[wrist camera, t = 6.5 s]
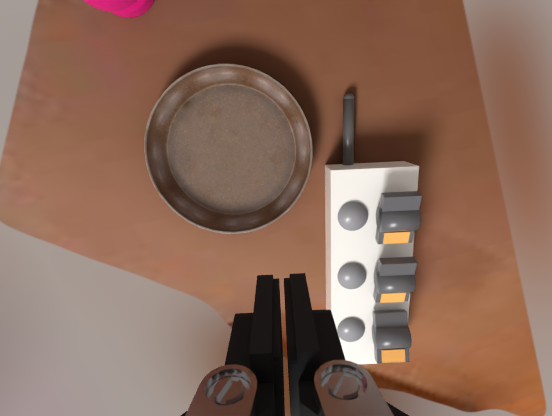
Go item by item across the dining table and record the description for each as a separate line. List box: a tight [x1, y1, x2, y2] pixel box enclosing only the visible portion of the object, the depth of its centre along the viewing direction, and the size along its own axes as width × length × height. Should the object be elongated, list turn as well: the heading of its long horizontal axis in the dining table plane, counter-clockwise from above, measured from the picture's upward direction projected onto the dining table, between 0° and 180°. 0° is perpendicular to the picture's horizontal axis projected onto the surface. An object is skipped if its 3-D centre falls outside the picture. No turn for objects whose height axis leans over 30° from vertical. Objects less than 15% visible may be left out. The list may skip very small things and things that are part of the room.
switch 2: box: [372, 309, 411, 363], centre depth 37 cm, size 6×4×3 cm, turn 3°
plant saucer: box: [144, 64, 313, 234], centre depth 36 cm, size 18×18×3 cm
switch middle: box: [373, 257, 417, 303], centre depth 35 cm, size 6×4×3 cm, turn 2°
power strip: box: [325, 93, 419, 364], centre depth 37 cm, size 32×9×4 cm, turn 3°
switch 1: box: [375, 191, 422, 244], centre depth 33 cm, size 6×4×3 cm, turn 3°
